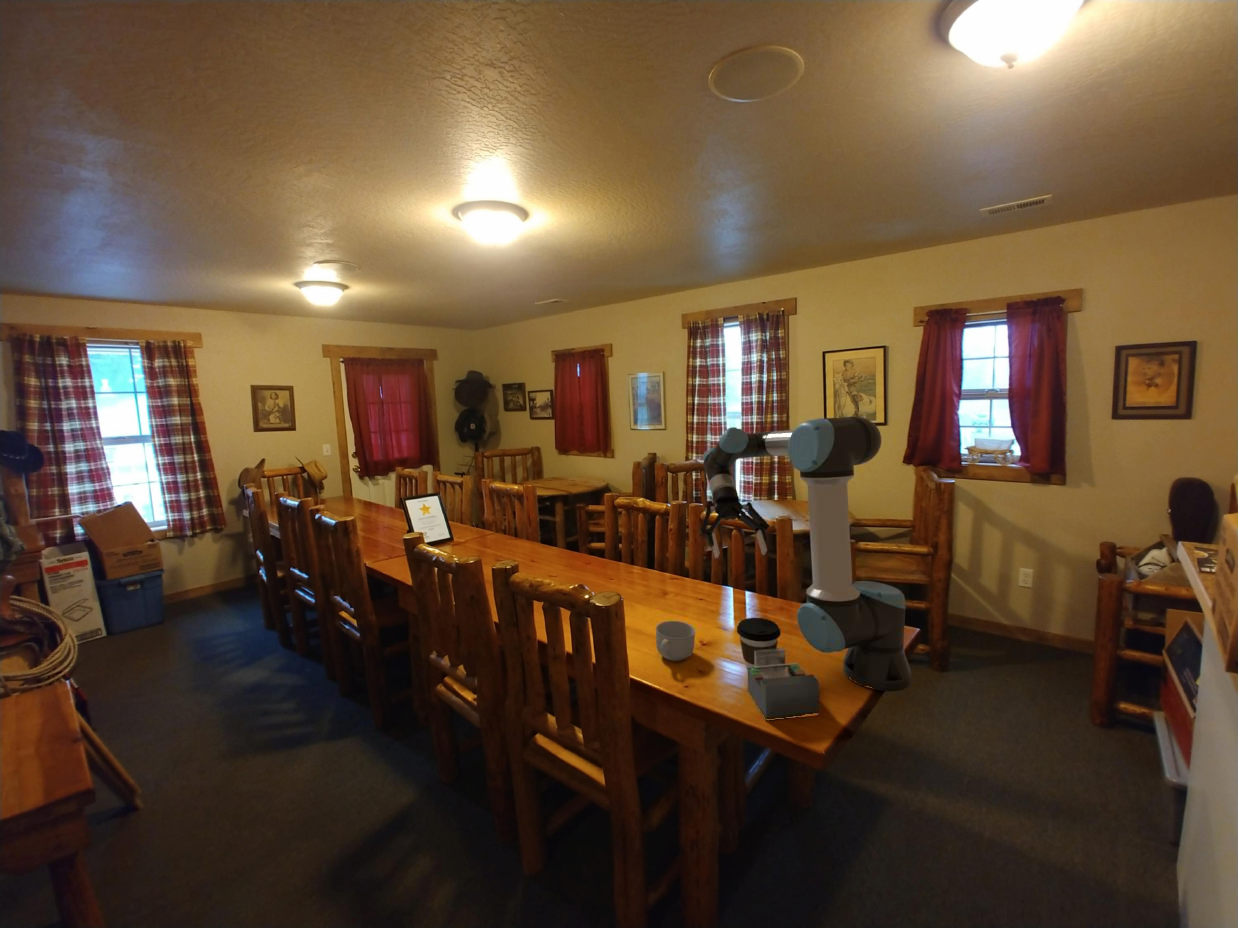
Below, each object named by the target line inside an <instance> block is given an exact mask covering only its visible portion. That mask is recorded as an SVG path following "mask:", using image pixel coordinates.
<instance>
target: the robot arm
mask: <svg viewBox="0 0 1238 928" xmlns="http://www.w3.org/2000/svg"><path fill="white" fill-rule="evenodd" d="M724 431H725V432H724V433H723V434H722V435H721V436H720V438H719V441H718V442H717V444H716V445H715V447H711V448H709V449H708V450H706V451H704V453H703V455H702V460H703V468H704V470H705V473H706V477H707V480H708V485H709V488H710V492H711V497H712V500H713V504H714V505H713V506H711V505H710V504H706V506H705V509H704V512H705V513H704V514H705V516H704V519H703V522H702V524H701V525H702V526H701V529H700V532H699V536H700V537H705V539H706V540H707V543H708V546H709V547H710V548H712V551H713V555H714V559H718V558H719V556H720V554H721V553H720V549H719V546H718V542H717V537H716V533H715V532H714V531H715V530H716V529H717V528H718V526H719V524H720V523H721V521H722V520H725V521H729V520H732V521H734V520H738V521H739V522H743V523H744V524H745V525H747V526H748V527H749V528H750V529H751V530H752V531H755V532H756V534H755V536H756V539H757V542H758V545H759V550H760V553H761V555H762V556H765V555H766V553H767V551H768V549H767V544H766V542H767V536H766V532H768V530H769V528H770V524H769V523H768V522H767V521H766V520H765V519H764V518H763V517H762V516H761V514H759V512H758V511H757V510H756V509H755V508H754V505H752V503H751V502H750V501H747V503H745V504H743V503H741V501H740V498H739V494H738V491H737V488H736V484H735V481H734V478H733V473H732V470H731V469H732V467H733V466H734V465H735V464H736V462H737V460H740V459H749V458H758V457H760V458H761V457H788V459H789V462H791V465H792V467H794V469H796V470H797V471H799V478H800V479H801V480H802V481H804V482H805V483H806V485H807V499H808V502H807V503H808V517H809V519H808V520H809V536H810V538H809V539H810V554H811V556H810V557H811V574H812V584H811V585H810V586H809V587H808V588H807V589H806V602H805V603H802V604H801V605H800V606H799V608H798V609H797V613H796V616H797V617H796V619H797V625H798V628H799V630H800V633H801V634H802V636H803V638H804V639H806V641H807V643H808V644H809V645H810V646H811V647H812V648H814V649H815V650H817V651H818V652H821V653H825V654H831V653H834V652H836V653H838V652H842V651H843V650H846V649H847V650H846V653H845V656H844V658H843V660H842V661H843V664H842V671H843V670H844V671H843V673H844V672H845V673H844V675H845V674H846V675H847V676H848V677H850V678H851V679H852V680H854V681H856V682H857V683H859V684H861V685H863V686H869V687H872V688H874V689H875V690H874V691H879V692H889V693H890V692H901V691H904V690H906V689H907V688H908V687H910V686H911V683H912V672H911V671H912V670H911V668H910V664H909V662H908V659H907V656H906V654H905V653H906V652H905V649H904V647H905V625H906V624H905V623H906V622H905V620H906V619H905V617H906V616H905V615H906V609H907V608H906V600H905V595H904V593H903V591H901V590H900V589H899V588H896V587H894V586H892V585H888V584H885V583H881V582H876V581H869V580H856V581H854V582H853V574H852V572H853V571H852V569H853V568H852V556H851V555H852V553H851V551H852V550H851V534H850V533H851V532H850V531H851V530H850V517H849V516H850V513H849V511H850V510H849V494H848V493H849V492H848V490H849V489H848V483H849V482H850V481H851V480H852V478H854V477H855V469H854V467H855V466H860V465H863V464H866V463H868V462H869V461H871V460H873V458H875V457H876V456H877V454H878V453H879V451H880V449H881V446H882V435H881V431H880V430H879V428H878V426H877V425H876V424H875V423H874V422H873V421H871V420H869V419H868V418H865V417H861V416H847V417H846V416H844V417H841V416H840V417H829V418H828V417H825V418H821V417H820V418H819V417H818V418H814V419H809V420H804V421H803V422H800V423H799V424H798V425H797V426H796V427H795V429H788V430H787V429H786V430H775V431H772V430H771V431H763V432H762V431H761V432H752V433H751V432H749V433H746V432H745V431H744V430H743V429H742V428H737V427H734V426H733V427H728V428H727V429H726V430H724ZM713 512H714V513H716V514H717V516H716V518H715V519H714V520H713V522H712V523H711V525H710V527H709V528H708V529H707V527H708V526H707V525H708V522H709V519H710V516H711V515H712V514H713ZM706 529H707V530H706ZM846 675H845V676H846ZM847 676H846V677H847ZM848 677H847V678H848ZM852 680H851V681H852ZM859 684H858V685H859ZM861 685H860V686H861ZM863 686H862V687H863Z"/></svg>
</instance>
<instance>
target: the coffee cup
mask: <svg viewBox="0 0 1238 928" xmlns="http://www.w3.org/2000/svg"><path fill="white" fill-rule="evenodd" d="M736 633H737V634H738V635H739V641H740V648H741V652H742V658H743V661H744V665H745V668H746V670H747V671H748V668H752V667H754V666H755V660H754V650H765V649H776V648H777V647H778V642H779V641H778V638H779V637H780V636H782V634H781V633H782V632H781V628H780V627H779V625H778V624H777V623H776V622H774V621H773V620H770V619H768V618H763V617H747V618H745V619H742V620H740V622H739V623H738V625H737V626H736Z"/></svg>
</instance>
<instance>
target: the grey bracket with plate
mask: <svg viewBox="0 0 1238 928" xmlns="http://www.w3.org/2000/svg"><path fill="white" fill-rule="evenodd" d="M754 660H755V666H754V667H752V670H759V672H760V673H761V675H762V676H763V679H771V678H781V677H792V675H791V674H790V673H789V672H788V667H791V666H798V665H799V664H798V662H789V663H786V649H784V647H779V648H776V649H765V650H754Z"/></svg>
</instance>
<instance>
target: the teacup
mask: <svg viewBox="0 0 1238 928" xmlns="http://www.w3.org/2000/svg"><path fill="white" fill-rule="evenodd" d="M695 634H696V629H695V627H694V626H693V625H692V624H689V623H687V622H684V621H680V620H668V621H663V622H660V623H659V624H657V625H656V627H655V645H656V650H657V652H658V653H659V654H660V655H661V657H663V658H664V659H666V660H667V661H668V660H669V661H671V662H680V661H684V660H686V659H688V658H689V657H690V656H691V655H692V654H693V652H694V650H695V649H694V648H695Z"/></svg>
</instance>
